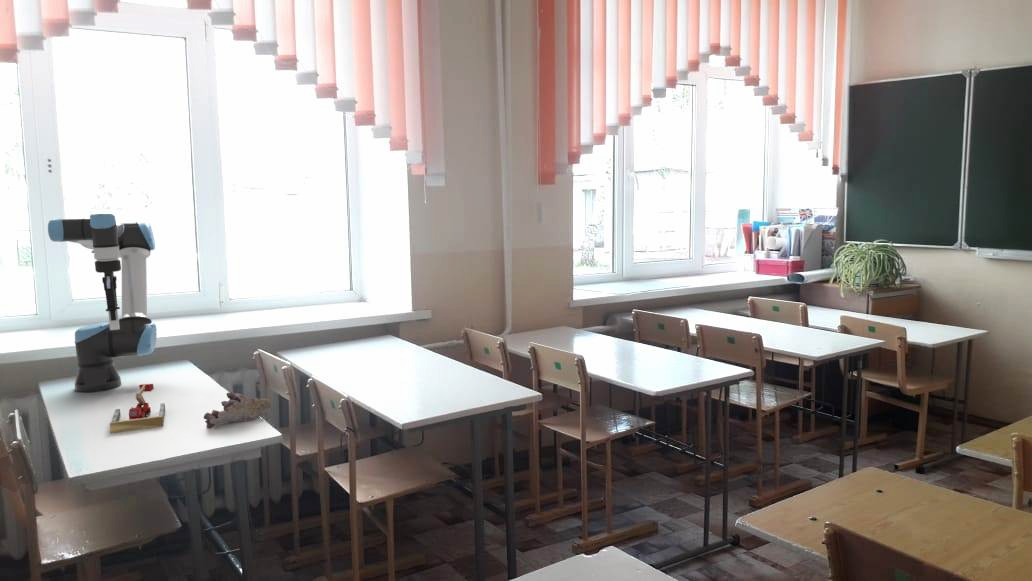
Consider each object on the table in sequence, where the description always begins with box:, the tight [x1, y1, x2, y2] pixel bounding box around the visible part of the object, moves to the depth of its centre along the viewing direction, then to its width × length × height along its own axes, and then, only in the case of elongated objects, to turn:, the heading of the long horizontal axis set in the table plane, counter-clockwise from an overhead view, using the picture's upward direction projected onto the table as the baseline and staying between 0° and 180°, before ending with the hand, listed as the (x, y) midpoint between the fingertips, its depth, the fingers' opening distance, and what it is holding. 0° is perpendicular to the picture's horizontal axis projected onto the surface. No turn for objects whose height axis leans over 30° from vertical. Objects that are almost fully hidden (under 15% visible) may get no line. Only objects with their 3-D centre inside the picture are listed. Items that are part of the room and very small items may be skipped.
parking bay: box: [109, 402, 166, 434], centre depth 243 cm, size 18×14×3 cm
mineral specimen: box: [203, 391, 272, 430], centre depth 240 cm, size 20×10×10 cm
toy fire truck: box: [128, 383, 155, 420], centre depth 247 cm, size 3×14×10 cm, turn 5°
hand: (115, 329), depth 259 cm, fingers closed
